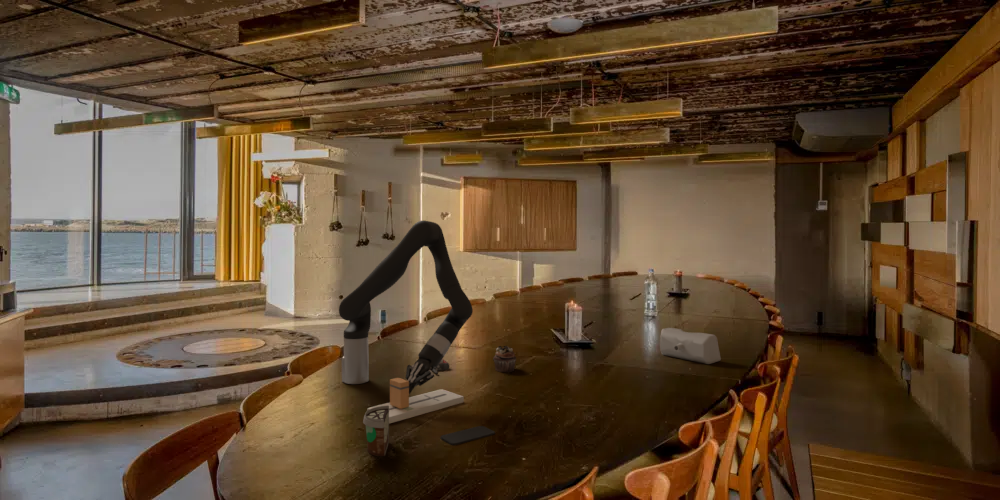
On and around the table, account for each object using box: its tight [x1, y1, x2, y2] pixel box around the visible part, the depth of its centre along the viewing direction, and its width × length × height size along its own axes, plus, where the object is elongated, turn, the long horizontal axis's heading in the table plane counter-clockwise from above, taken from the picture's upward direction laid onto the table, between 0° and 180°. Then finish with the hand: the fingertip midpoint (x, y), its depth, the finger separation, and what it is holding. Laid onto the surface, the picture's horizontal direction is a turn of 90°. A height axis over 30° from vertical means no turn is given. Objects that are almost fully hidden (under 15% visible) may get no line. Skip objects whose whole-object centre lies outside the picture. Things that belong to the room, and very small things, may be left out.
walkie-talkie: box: [432, 358, 450, 375], centre depth 232 cm, size 9×4×20 cm
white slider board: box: [366, 388, 465, 425], centre depth 182 cm, size 30×12×2 cm, turn 134°
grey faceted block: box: [659, 327, 722, 365], centre depth 250 cm, size 25×16×12 cm, turn 40°
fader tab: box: [389, 377, 410, 409], centre depth 177 cm, size 3×6×8 cm, turn 44°
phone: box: [440, 425, 496, 446], centre depth 158 cm, size 7×1×15 cm
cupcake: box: [493, 345, 517, 373], centre depth 231 cm, size 10×10×10 cm
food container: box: [362, 406, 390, 457], centre depth 148 cm, size 12×6×10 cm, turn 5°
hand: (404, 393), depth 179 cm, fingers closed
